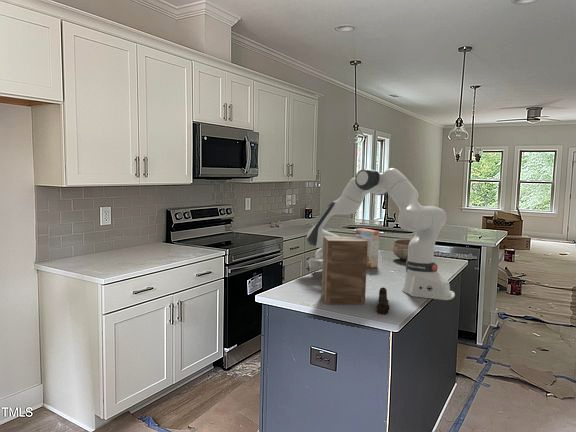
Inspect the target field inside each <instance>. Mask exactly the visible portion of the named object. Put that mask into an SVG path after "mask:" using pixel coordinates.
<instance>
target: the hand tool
mask: <svg viewBox="0 0 576 432" xmlns="http://www.w3.org/2000/svg"><path fill="white" fill-rule="evenodd" d="M389 302H390V301H389V300H388V293H387V288H385V287H383V286H382V287H380V289H379V292H378V303H377V305H376V310H375V311H376V313H377V315H388V314H389V311H390V309H391V307H390V304H389Z"/></svg>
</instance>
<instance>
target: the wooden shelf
mask: <svg viewBox="0 0 576 432" xmlns="http://www.w3.org/2000/svg"><path fill="white" fill-rule="evenodd" d="M367 247H368V241H367V240H365V239H364V238H362V237H356V236H352V235H351V236H350V235H349V236H348V235H346V236H342V235H338V236H323V263H322V268H321V270H322V271H321V272H322V274H321V298H322V300H323V302H324V303H325V305H365V304H366V290H367V288H366V286H367V268H368V267H367Z"/></svg>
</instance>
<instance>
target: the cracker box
mask: <svg viewBox="0 0 576 432" xmlns="http://www.w3.org/2000/svg"><path fill="white" fill-rule="evenodd" d="M355 237H362V238H364V239H365V240H367V241H368V247H367V268H370V269H372V268H378V266H379V249H380V248H379V247H380V246H379V245H380V230H374V229H369V228H363V227H362V228H361V227H360V228H359V227H358V228H355Z"/></svg>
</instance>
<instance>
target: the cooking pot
mask: <svg viewBox="0 0 576 432" xmlns="http://www.w3.org/2000/svg"><path fill="white" fill-rule="evenodd" d="M412 239H413V238H396V239H394V243H393V245H392V252H393V254H394V256H396V257H397V258H399V259H400V260H401V261H403V262H407V260H408V245H409V242H410V241H411V240H412Z"/></svg>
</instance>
